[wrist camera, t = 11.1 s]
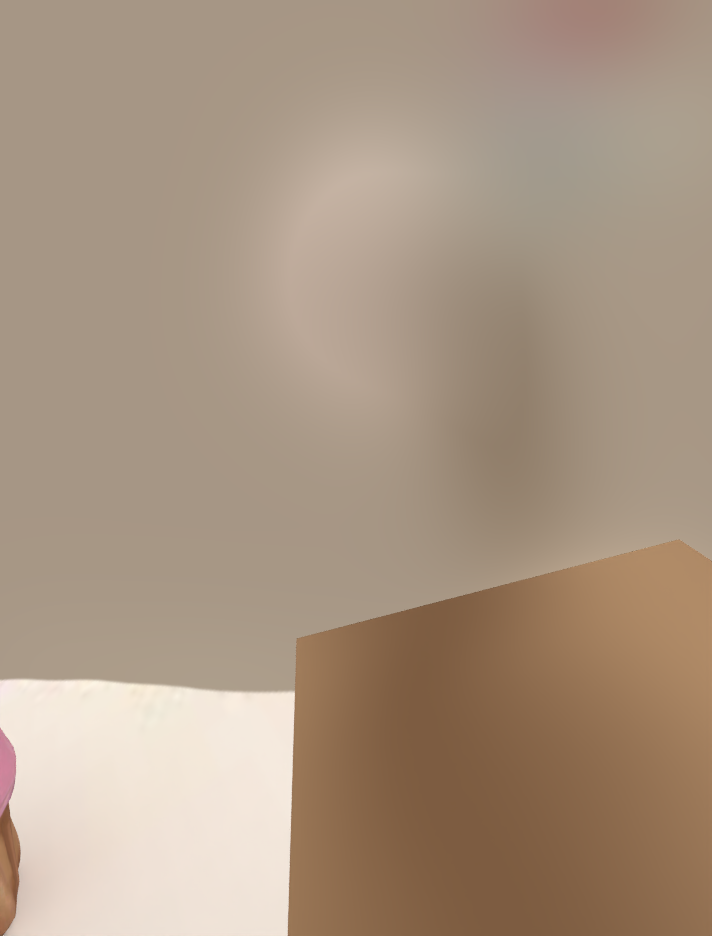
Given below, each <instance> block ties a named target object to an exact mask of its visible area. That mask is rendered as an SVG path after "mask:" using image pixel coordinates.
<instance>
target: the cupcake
mask: <svg viewBox="0 0 712 936" xmlns="http://www.w3.org/2000/svg"><path fill="white" fill-rule="evenodd" d="M15 775H16V755H15V751H14V747H13V746H12V744H11V743H10V741H9V739H8V738H7V737H6V736H5V734H4V733H3V731H2V730H1V728H0V936H2V935H3V934H4V933H5V932H6V930H7V929H8V928H9V926H10V924H11V923H12V921H13V919H14V918H15V914H16V904H17V892H18V886H19V874H18V867H19V862H20V843H19V839H18V835H17V832H16V830H15V827H14V824H13V822H12V820H11V817H10V810H9V800H10V798H11V795H12V792H13V789H14V784H15Z"/></svg>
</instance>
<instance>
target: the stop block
mask: <svg viewBox="0 0 712 936" xmlns="http://www.w3.org/2000/svg"><path fill="white" fill-rule="evenodd" d="M288 936H712V561H711V560H709V559H708V558H706V557H704V556H703V555H702V554H700V553H699V552H697V551H696V550H694V549H693V548H691V547H690V546H688V545H686V544H685V543H684V542H682V541H680V540H675V541H671V542H667V543H663V544H660V545H656V546H652V547H648V548H644V549H641V550H636V551H632V552H629V553H625V554H621V555H617V556H613V557H610V558H605V559H602V560H598V561H594V562H590V563H586V564H583V565H579V566H575V567H571V568H567V569H563V570H560V571H555V572H552V573H548V574H544V575H540V576H536V577H533V578H529V579H525V580H521V581H517V582H513V583H509V584H505V585H501V586H498V587H494V588H490V589H486V590H482V591H479V592H474V593H471V594H467V595H463V596H459V597H456V598H451V599H447V600H444V601H440V602H436V603H432V604H428V605H424V606H420V607H417V608H413V609H409V610H406V611H401V612H397V613H394V614H390V615H386V616H382V617H378V618H375V619H370V620H367V621H363V622H359V623H355V624H351V625H347V626H344V627H340V628H336V629H332V630H328V631H324V632H320V633H317V634H313V635H309V636H305V637H301V638H297V645H296V679H295V712H294V745H293V778H292V811H291V845H290V878H289V911H288Z"/></svg>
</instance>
